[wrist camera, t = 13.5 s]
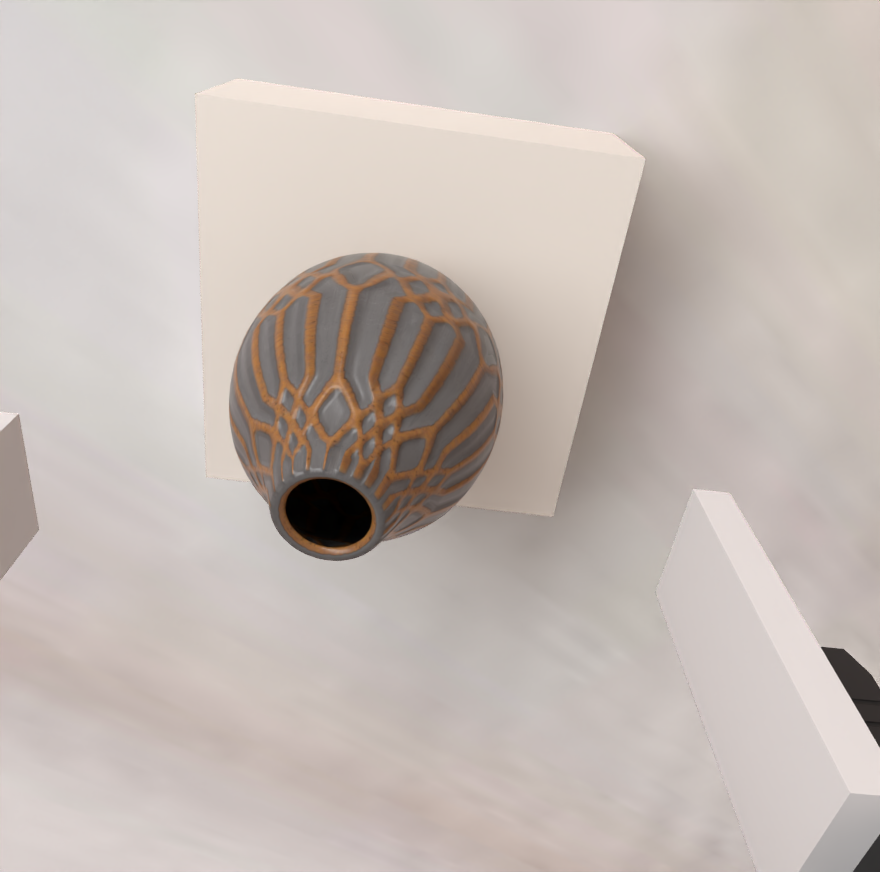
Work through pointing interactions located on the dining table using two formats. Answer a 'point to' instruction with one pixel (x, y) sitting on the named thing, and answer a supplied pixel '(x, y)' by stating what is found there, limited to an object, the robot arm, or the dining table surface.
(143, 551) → the dining table surface
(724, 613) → the robot arm
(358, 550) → the vase
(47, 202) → the dining table surface
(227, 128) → the riser block
